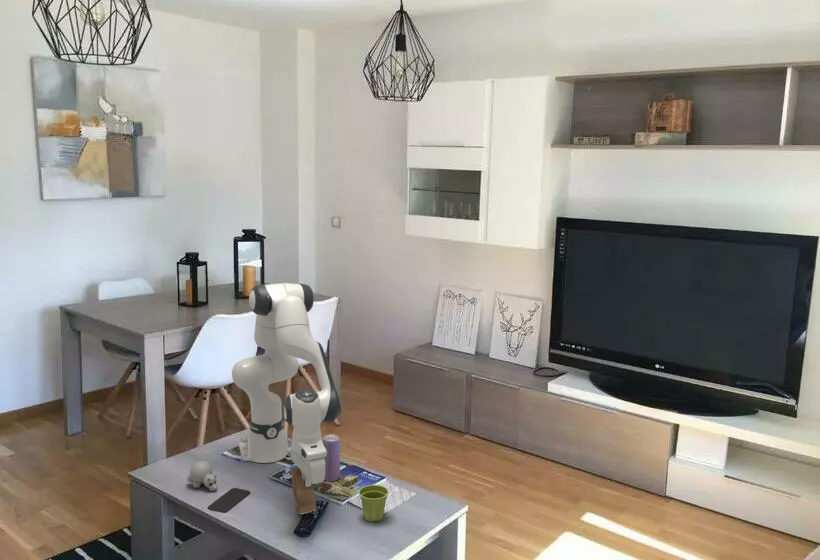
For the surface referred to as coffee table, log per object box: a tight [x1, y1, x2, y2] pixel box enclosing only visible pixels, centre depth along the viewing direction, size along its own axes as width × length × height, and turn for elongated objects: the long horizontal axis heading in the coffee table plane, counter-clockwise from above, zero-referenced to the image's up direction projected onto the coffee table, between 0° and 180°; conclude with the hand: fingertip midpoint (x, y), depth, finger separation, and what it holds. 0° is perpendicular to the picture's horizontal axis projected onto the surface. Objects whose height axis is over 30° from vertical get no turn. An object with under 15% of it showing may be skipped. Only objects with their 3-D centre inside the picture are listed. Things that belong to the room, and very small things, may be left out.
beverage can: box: [322, 434, 341, 482], centre depth 249 cm, size 6×6×15 cm
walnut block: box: [290, 466, 318, 515], centre depth 226 cm, size 5×5×14 cm
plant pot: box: [358, 484, 390, 523], centre depth 223 cm, size 9×9×9 cm
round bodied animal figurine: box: [186, 460, 218, 492], centre depth 240 cm, size 7×12×8 cm, turn 53°
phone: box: [207, 487, 251, 514], centre depth 232 cm, size 7×1×15 cm
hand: (306, 484), depth 222 cm, fingers closed
